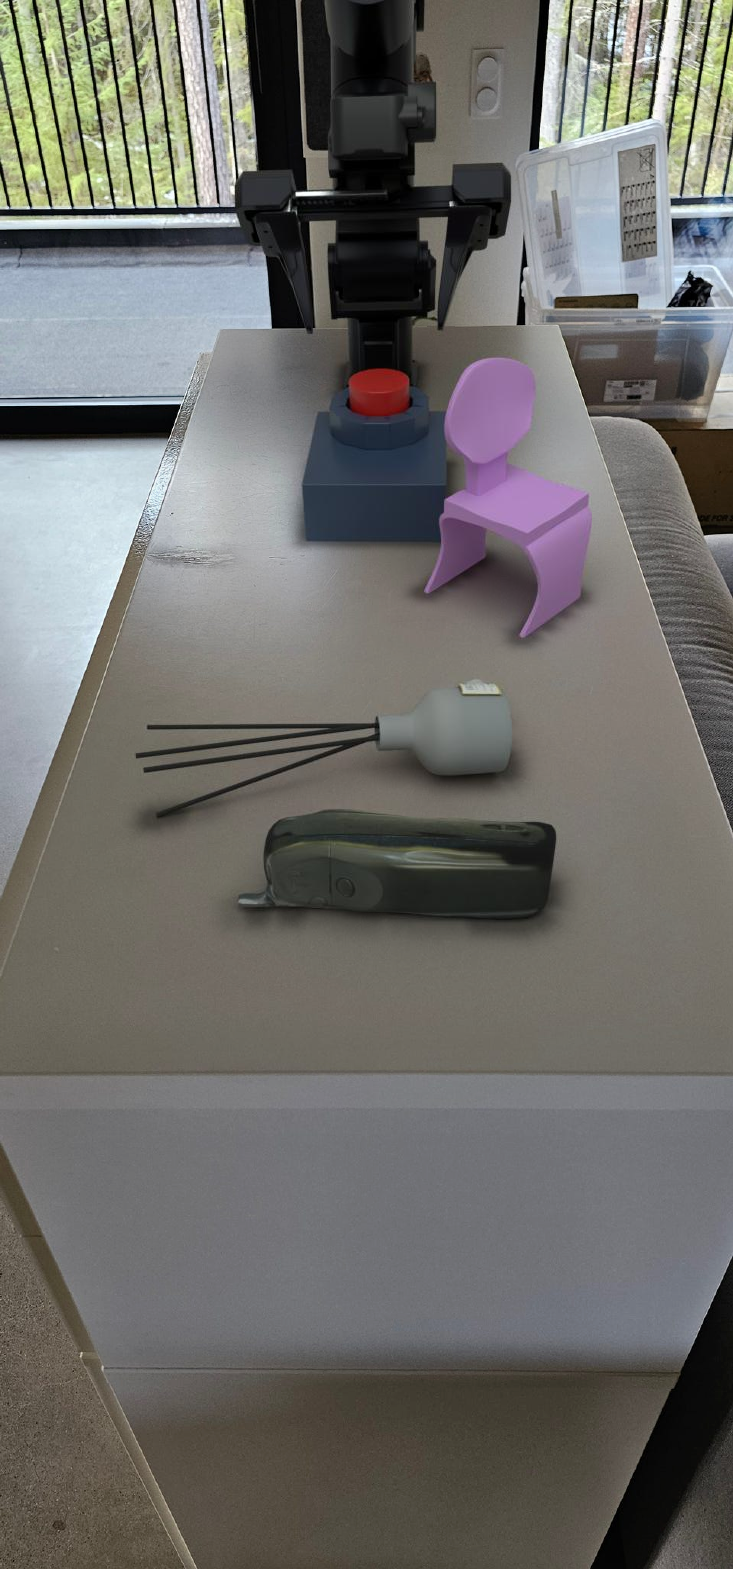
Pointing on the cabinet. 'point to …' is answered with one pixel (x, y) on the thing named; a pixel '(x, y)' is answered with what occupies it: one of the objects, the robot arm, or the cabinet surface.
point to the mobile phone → (407, 865)
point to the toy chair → (508, 490)
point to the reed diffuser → (389, 736)
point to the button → (379, 392)
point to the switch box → (376, 474)
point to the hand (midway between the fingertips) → (374, 330)
